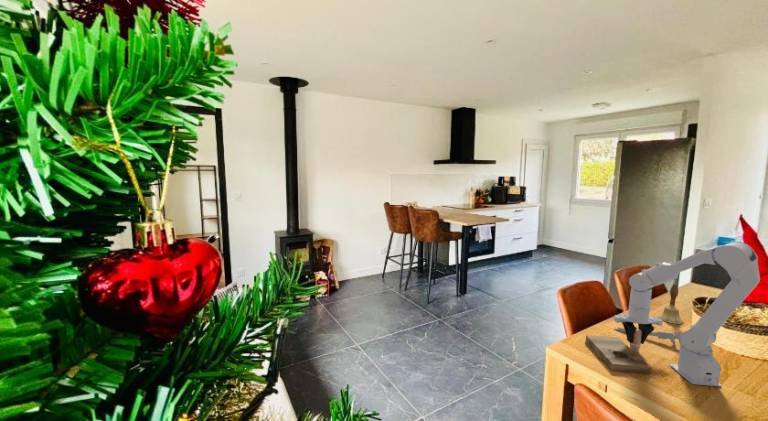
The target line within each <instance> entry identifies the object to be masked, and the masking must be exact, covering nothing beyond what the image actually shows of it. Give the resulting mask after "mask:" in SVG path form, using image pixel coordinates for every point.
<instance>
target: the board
mask: <svg viewBox="0 0 768 421" xmlns="http://www.w3.org/2000/svg"><path fill="white" fill-rule="evenodd" d="M585 342H586V343H587V345H588V346H590V348H591V349H592V350H593V351H594V353H596V355H597V356H598V357H599V358H600V360H601V361H603V363H604V364H605V365H606V367H608V368H609V370H610V371H611V372H621V373H629V372H633V373H632V374H640V373H641V374H643V375H650V374H651V366H650V364H648V363H647V362H646V361H645V360H643V359H642V357H640V356H639V355H638V353H637V352H634V351H632V350H631V349H630V346H629V345H627V344H626V343H625V342H624V341H623V340H622V339H620V337H619V336H606V335H605V336H603V335H592V334H586V335H585Z"/></svg>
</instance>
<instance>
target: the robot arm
mask: <svg viewBox="0 0 768 421" xmlns="http://www.w3.org/2000/svg"><path fill="white" fill-rule="evenodd" d="M758 258H759V257H758V255H757V254H756V252H755V250H754V249H753V248H752V246H750V245H749V244H747V243H745V242H742V241H730V242H728V243H726V244H724V245H723V244H721V245H717V246H714V247H711V248H706V249H703V250H700V251H698V252H697V253H694V254H691V255H689V256H687V257H684V258H682V259H680V260H678V261H675V262H673V263H669V262H662V263H661V261H660V262H659V261H658V262H657V263H655V264H654V266H652V267H650V268H648V269H646V268H643V269H641V270H640V271H641V272H638V273H634V274H633V275H631V276H630V277H629V280H628V283H629V285H630V287H631V288H630V295H629V303H628V314H618V315H616V314H615V315H614V316H613V321H614V322H615V323H617V324H620V323H621V324H622V326H623V328H624V329H625V332H624V333H625V334H626V340H627V342H628V343H629V344H630V343H633V339H634V333H635V331H636V329H637V328H639V329H641V330H642V336H641V345H644V344H645V342H646V340H647V338H648V336H650V335H649V334H650V333H651V332H652V331H654V330H655V326H656V325H657V326H659V327H662V326H663V322H664V321H663V320H661V319H659V318H658V317H653V316H650V313H651V312H650V311H651V310H650V309H651V304H652V292H653V288H655V287H657V286H661V285H662V284H665V283H668V282H671V281H673V280H676V279H678V277H679V274H680V273H682V272H684V271H687V270H690V269H692V268H696V267H698V266H701V265H703V264H705V265H706V264H707V265H713V266H715V265H717V264H718V265H719V266H721V267H722V268H723V269H724V270H725V271H726V272H727V274H728V275H729V278H731V279H730V281H729V282H728V283H727V285H726V286H725V287H724V288H723V290H722V291H721V292H720V293H719V295H718V296H717V297H716V298H715V299H714V300H713V302H712V303H711V304H710V306H709V307H708V308H707V309H706V310H705V311H704V313H703V314H702V315H701V317H700V318H699V319H698V320H697V321H696V322H695V323H694V324H692V325H691V326H690V327H689V328H688V329H686V330H684V331H682V332H681V333H680V337H679V338H680V342H681V345H680V344H679V354H678V361H677V364H674V363H673V364H672V363H670V364H669V365H670V367H671V368H672V369H673V370H675V371H676V372H677V373H678V374H679V375H681V376H682V377H683V378H684V379H686V380H687V381H688V382H689V383H690V384H692V385H697V386H698V385H699V386H711V387H719V388H720V387H722V384H721V383H720V378H721V373H722V372H721V370H722V366H721V363H720V362H719V361H718V360H717V359H716V358H715V357H714V354H713V352H714V350H713V348H712V346H711V345H712V344H714V343H715V342H716V341H717V340H716V339H717V333H718V332H719V330H720V329H721V327H722V326H723V324H725V322H726V321H727V320H729V318H730V317H731V316H732V315H733V314H734V312H735V311H736V310H737V309H738V308H739V306H740V305H741V304H742V303H743V302H744V301H745V299H746V298H747V297H748V296H749V295H750V294H751V292H752V291H753V290H754V289H755V288H756V287H757V285H758V284H759V283H760V280H761V276H760V271H759V264H758V263H759V262H758V260H759V259H758ZM635 324H637V325H638V326H637V327H636V326H635ZM653 325H655V326H653Z"/></svg>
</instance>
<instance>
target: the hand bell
mask: <svg viewBox="0 0 768 421" xmlns="http://www.w3.org/2000/svg"><path fill="white" fill-rule="evenodd" d="M678 294H679V288H678V284H676V283H672V285H671V287H670V290H669V296H670V301H669V305H666V306H664V308H663V311H662V313H661V314H659V315H657V318H659V319H661V320H662V321H663V322H666V323H669V324H673V325H674V324H675V325H683V324H684V320H683V319H682V318H681V316H680V311H679V308H678V307H676V306H675V305H676V299H677V297H678V296H679V295H678Z"/></svg>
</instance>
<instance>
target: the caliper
mask: <svg viewBox="0 0 768 421" xmlns="http://www.w3.org/2000/svg"><path fill="white" fill-rule="evenodd" d="M613 330H615V331H619V332H622V333H626V332H625V329H624V327H621V326H618V327H614V328H613ZM680 334H681V333H680V330H677V331H676V329H674V332H672V331H671V332H670V331H661V330H657V331H654V330H653V331H652V332H651V333H650V334H649V335H648V336H652V337H657V338H658V340H670V342H671V345H673V347H677V345H676V339H677V340H678V343H679V346H680V345H681V342H680V338H679V337H680Z"/></svg>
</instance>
